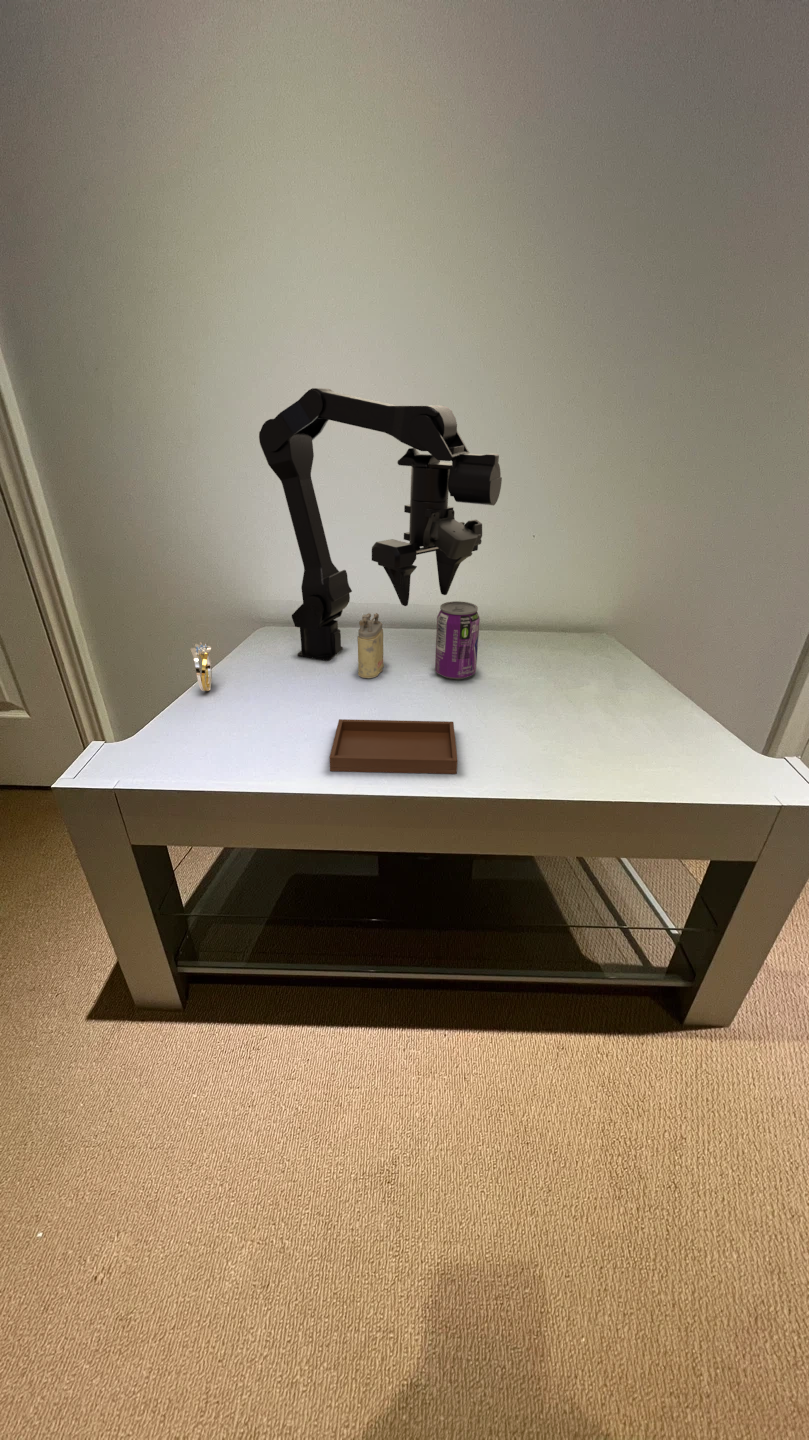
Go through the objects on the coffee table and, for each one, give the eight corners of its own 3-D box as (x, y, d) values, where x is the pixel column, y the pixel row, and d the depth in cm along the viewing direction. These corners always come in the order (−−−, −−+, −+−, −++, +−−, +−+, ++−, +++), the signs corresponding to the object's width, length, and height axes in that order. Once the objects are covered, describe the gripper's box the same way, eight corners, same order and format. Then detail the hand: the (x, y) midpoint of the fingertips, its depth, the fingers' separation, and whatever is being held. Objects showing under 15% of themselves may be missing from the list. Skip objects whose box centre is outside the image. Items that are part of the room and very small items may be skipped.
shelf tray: (330, 771, 76) (329, 757, 75) (339, 732, 85) (338, 719, 84) (456, 774, 76) (457, 760, 75) (452, 734, 85) (453, 721, 84)
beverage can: (473, 683, 100) (478, 615, 94) (431, 680, 101) (434, 612, 95) (477, 667, 106) (482, 602, 100) (438, 663, 107) (440, 599, 101)
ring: (213, 699, 93) (205, 652, 90) (192, 699, 93) (184, 652, 89) (221, 680, 100) (215, 635, 96) (202, 681, 99) (194, 636, 95)
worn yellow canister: (367, 662, 107) (366, 608, 102) (387, 664, 107) (387, 610, 102) (355, 677, 101) (353, 621, 96) (377, 680, 100) (376, 623, 96)
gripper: (423, 513, 79) (419, 625, 86) (509, 500, 90) (499, 600, 98) (368, 502, 86) (369, 606, 93) (455, 491, 97) (449, 585, 105)
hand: (424, 599), depth 97 cm, fingers open, 9 cm apart
